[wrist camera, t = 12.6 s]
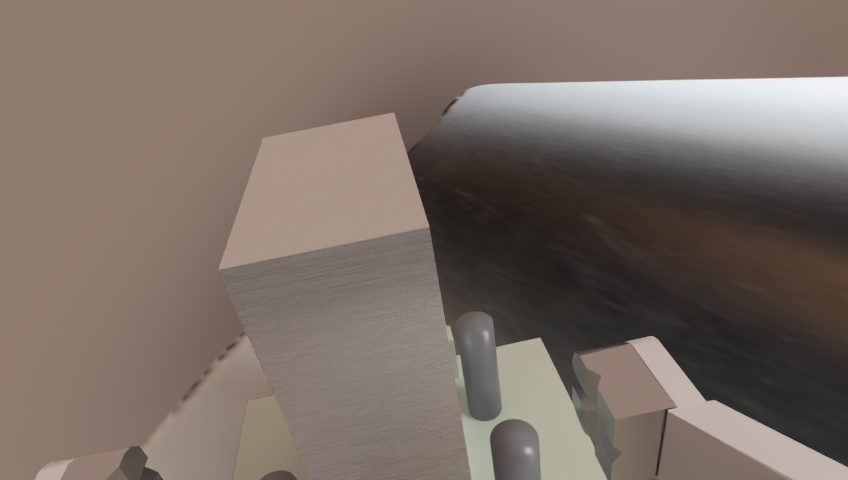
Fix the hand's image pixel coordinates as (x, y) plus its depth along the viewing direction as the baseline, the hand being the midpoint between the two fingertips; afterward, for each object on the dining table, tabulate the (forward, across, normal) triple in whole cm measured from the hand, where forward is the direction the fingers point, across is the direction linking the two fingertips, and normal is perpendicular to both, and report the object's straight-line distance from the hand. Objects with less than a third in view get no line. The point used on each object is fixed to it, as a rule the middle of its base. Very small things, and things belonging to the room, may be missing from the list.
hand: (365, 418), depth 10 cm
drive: (+3, 0, +7) cm, 8 cm away
